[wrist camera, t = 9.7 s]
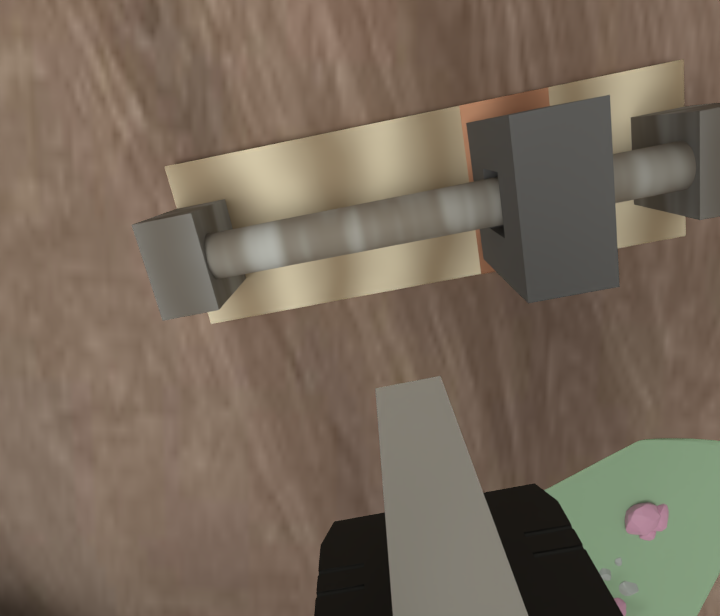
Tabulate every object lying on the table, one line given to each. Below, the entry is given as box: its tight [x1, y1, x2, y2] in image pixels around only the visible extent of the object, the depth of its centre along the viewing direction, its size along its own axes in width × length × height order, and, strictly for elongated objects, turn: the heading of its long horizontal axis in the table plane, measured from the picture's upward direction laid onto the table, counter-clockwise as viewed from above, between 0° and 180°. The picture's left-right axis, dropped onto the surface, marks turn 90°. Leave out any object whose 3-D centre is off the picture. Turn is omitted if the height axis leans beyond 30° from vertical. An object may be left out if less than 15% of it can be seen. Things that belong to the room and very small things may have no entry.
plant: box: [544, 438, 720, 616], centre depth 38 cm, size 25×21×9 cm
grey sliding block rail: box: [132, 59, 720, 324], centre depth 29 cm, size 30×10×8 cm, turn 101°
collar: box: [466, 95, 619, 303], centre depth 27 cm, size 4×8×9 cm, turn 11°
